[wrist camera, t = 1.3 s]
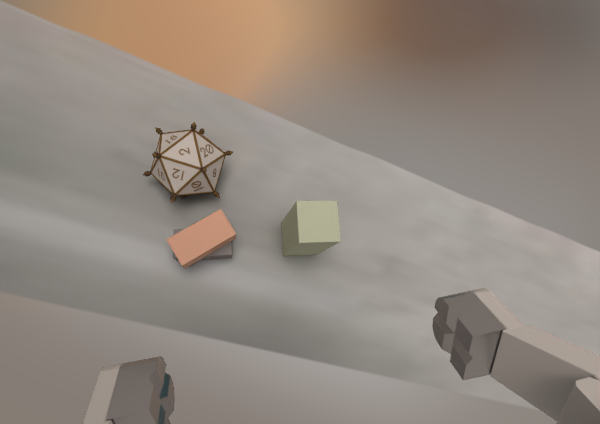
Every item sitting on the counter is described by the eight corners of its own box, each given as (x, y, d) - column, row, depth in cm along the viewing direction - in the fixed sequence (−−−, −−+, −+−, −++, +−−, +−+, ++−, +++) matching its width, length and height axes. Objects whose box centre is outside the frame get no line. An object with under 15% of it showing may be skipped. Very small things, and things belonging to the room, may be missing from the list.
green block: (282, 256, 43) (299, 242, 34) (281, 222, 44) (296, 201, 35) (315, 254, 44) (340, 241, 35) (313, 222, 45) (337, 200, 35)
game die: (192, 170, 47) (203, 98, 41) (235, 208, 44) (254, 136, 38) (126, 188, 41) (128, 106, 35) (171, 234, 38) (181, 152, 32)
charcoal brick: (177, 260, 41) (173, 257, 38) (177, 234, 42) (173, 229, 39) (231, 257, 42) (232, 254, 39) (230, 232, 43) (231, 227, 40)
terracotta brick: (185, 268, 38) (181, 265, 35) (170, 244, 38) (166, 239, 35) (235, 238, 40) (236, 233, 37) (221, 215, 40) (220, 209, 37)
